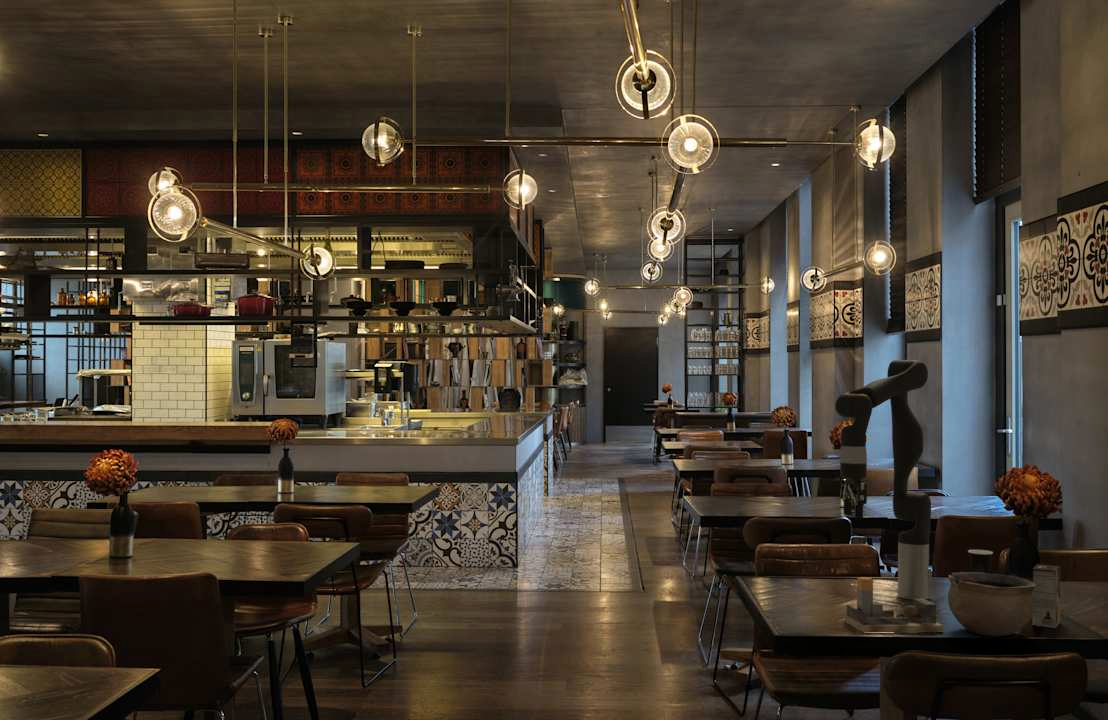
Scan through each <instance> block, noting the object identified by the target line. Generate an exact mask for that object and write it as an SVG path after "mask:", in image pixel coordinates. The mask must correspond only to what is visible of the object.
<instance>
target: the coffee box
mask: <svg viewBox="0 0 1108 720" xmlns="http://www.w3.org/2000/svg"><path fill="white" fill-rule="evenodd" d="M1031 570H1032V571H1031V572H1032V573H1031V575H1032V579H1031V582H1032V583H1034V584H1035V585H1036V586H1035V588H1034V590H1033V592H1032V595H1033V598H1034V613H1033V615H1032V617H1031V619H1032V621H1031V622H1032V626H1034V625H1036V627H1042V626H1043V628H1051V629H1056V628H1058V626H1059V624H1060V623H1061V565H1050V564H1039V563H1038V564H1036V565H1035V566H1034V567H1032V569H1031Z"/></svg>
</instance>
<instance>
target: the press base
mask: <svg viewBox="0 0 1108 720" xmlns="http://www.w3.org/2000/svg"><path fill="white" fill-rule="evenodd" d="M912 605H913V606H915V607H916V608H917V610H918V616H917V618H907V617H905V616H904V615H903V613H895V610H893V609H883V617H884V618H866V614H865V613H863V612H861V611H859V610H858V609H857V607H854V606H852V605H850V604H846V614H845V615H844V622H845V621H847V622H848V623H850V624H851V625H853V626H855V627H856V628H858V629H860V630H862V631H863V632H894V633H893V634H919V633H918V632H943V633H944V625H943V624H941V623H940V622H937V604H936V603H934V602H932V601H930V600H928V599H926V600H925V599H923V598H921V599H913V600H912ZM848 623H847V624H848ZM850 624H849V625H850ZM851 625H850V626H851ZM853 626H852V627H853ZM855 627H854V628H855ZM856 628H855V629H856ZM858 629H857V630H858ZM860 630H859V631H860ZM863 632H862V633H863Z"/></svg>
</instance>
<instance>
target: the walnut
mask: <svg viewBox="0 0 1108 720" xmlns="http://www.w3.org/2000/svg"><path fill="white" fill-rule="evenodd" d="M902 614H903V615H904V616H905V617H907V618H917V616H918V610H917V608H916V607H915V606H913V604H908V605H906V606H904V607H903V609H902Z"/></svg>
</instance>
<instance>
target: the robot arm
mask: <svg viewBox="0 0 1108 720" xmlns="http://www.w3.org/2000/svg"><path fill="white" fill-rule="evenodd" d="M886 375H887V377H884V378H880V379H876V380H874V381H871V382H870V383H868V384H866V385H864V386H863V387H860V388H857V389H853V390H849V391H847V392H844V393H842V394H840V395H839V396H838V398H837V399H836V401H835V405H834V406H835V411H836V413H837V414H838V415H839V416H841V417H843V418H847V419H849V418H853V422H852V423H851V424H850V425H847V426H843V427H842V428H841V432H840V433H841V435H840V436H841V437H840V438H841V439H840V441H841V447H840V453H839V454H840V455H839V456H840V457H839V458H840V463H839V470H840V471H839V475H840V477H841V478H843V479H840V487H839V488H840V489H839V491H840V492H839V495H840V500H842V502H843V515H844V516H845V515H846V516H852V512H853V511H852V509H853V508H852V505H853V504H852V503H853V502H854V518H855V519H863V518H864V506H865V505H866V504H867V503H868V497H867V496H868V495H867V494H868V492H867V489H868V488H867V486H868V485H867V483H866V482H862V480H863V479H866V478H867V477H868V474H867V473H868V472H867V470H868V467H867V465H868V464H867V462H868V461H867V460H868V455H867V454H868V453H867V432H868V427H869V423H870V419H871V416H872V412H873V409H874V408H877V407H878V406H880V405H882V404H883V403H885V402H886V401H889V400H890V410H891V411H890V412H891V434H892V435H891V437H892V438H891V440H892V458H893V486H892V487H893V488H892V489H893V490H892V510H893V514H894V517H895V518H896V520H900V521H905V522H906V521H908V522H915V524H914V527H913V528H911V529H910V530H909V529H908V530H904V531H902V532H899V533H898V537H897V539H898V541H897V544H898V545H897V551H898V552H897V554H898V556H897V558H898V559H897V597H899V598H901V599H903V600H912V601H913V599H921V598H923V599H926V600H931V599H932V567H930V536H931V520H932V519H931V518H932V501H931V497H930V495H929V494H928V493H925V492H919V491H917V492H916V491H908V484H909V478H910V476H911V473H912V471H913V470H914V468H915V466H916V465H917V463H919V461H920V459H921V457H922V455H923V453H924V436H923V435H924V434H923V428H922V426H921V423H920V422H919V421H918V419H917V417H916V415H915V414H914V413H913V411H912V409H911V407H910V406H909V403H908V399H907V392H910V391H915V390H919V389H922V388H923V387H924V386H925V385H926V383H927V382H928V379H929V378H928V377H929V370H928V367H927V366H926V363H925V362H923V361H921V360H917V359H894V360H892V361H890V363H889V365H888V367H887V374H886ZM852 501H853V502H852Z"/></svg>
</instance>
